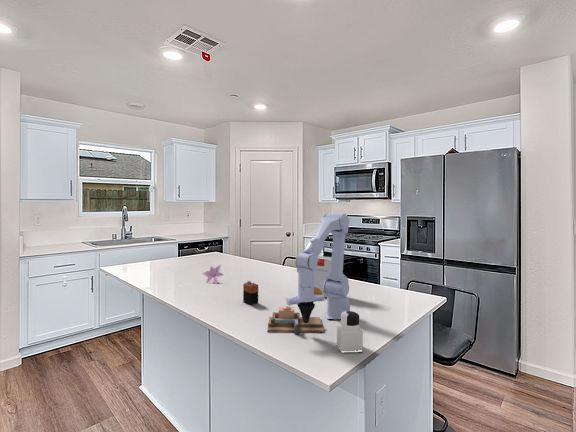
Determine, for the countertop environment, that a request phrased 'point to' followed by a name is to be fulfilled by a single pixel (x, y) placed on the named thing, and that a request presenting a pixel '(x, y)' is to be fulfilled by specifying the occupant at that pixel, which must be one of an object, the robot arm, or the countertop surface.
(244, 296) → the battery
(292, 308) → the block with dome
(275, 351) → the countertop surface
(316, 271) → the hard drive box
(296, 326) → the gate
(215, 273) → the lily
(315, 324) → the housing
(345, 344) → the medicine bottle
